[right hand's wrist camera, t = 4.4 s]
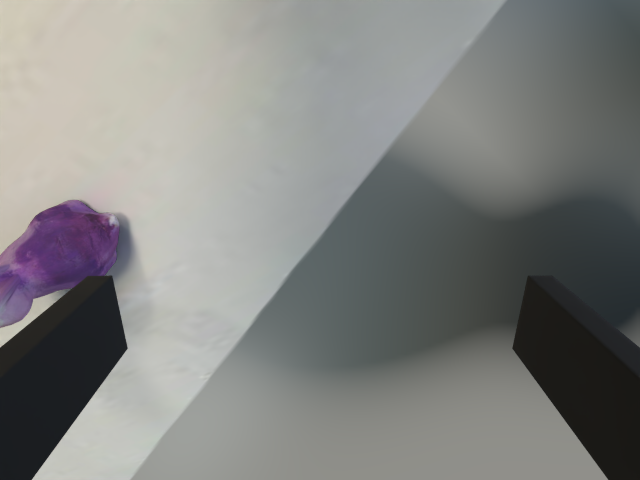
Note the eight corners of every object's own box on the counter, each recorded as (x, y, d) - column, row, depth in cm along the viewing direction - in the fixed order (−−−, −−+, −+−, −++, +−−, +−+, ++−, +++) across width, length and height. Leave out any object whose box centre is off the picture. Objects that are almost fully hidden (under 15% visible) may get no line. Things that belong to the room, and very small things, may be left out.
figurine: (35, 277, 43) (-101, 368, 29) (32, 187, 40) (-124, 244, 26) (123, 294, 44) (31, 391, 30) (128, 208, 40) (27, 273, 26)
